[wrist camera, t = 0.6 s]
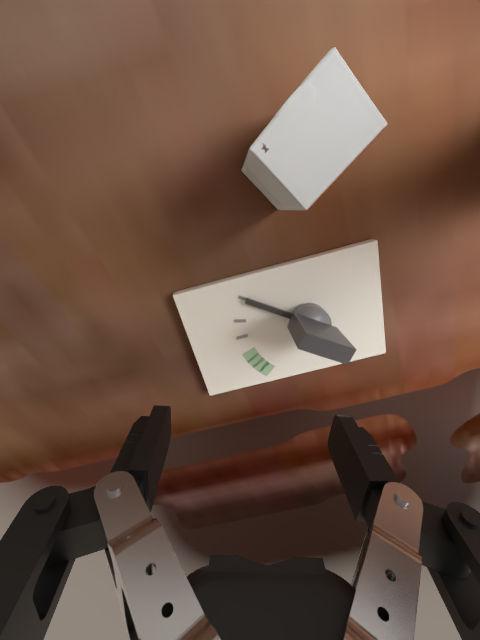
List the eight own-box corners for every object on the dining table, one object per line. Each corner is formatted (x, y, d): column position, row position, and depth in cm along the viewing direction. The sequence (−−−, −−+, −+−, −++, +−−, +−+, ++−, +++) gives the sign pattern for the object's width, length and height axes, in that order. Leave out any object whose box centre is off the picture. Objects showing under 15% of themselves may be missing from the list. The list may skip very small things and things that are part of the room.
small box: (278, 211, 34) (305, 213, 22) (239, 170, 32) (245, 148, 20) (329, 154, 32) (391, 122, 20) (291, 108, 30) (333, 41, 18)
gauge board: (371, 238, 35) (377, 240, 34) (380, 347, 41) (386, 353, 40) (174, 291, 37) (172, 295, 35) (210, 389, 43) (209, 396, 41)
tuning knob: (336, 311, 37) (363, 337, 29) (319, 343, 39) (341, 376, 31) (252, 281, 35) (259, 301, 28) (239, 317, 37) (241, 344, 29)
